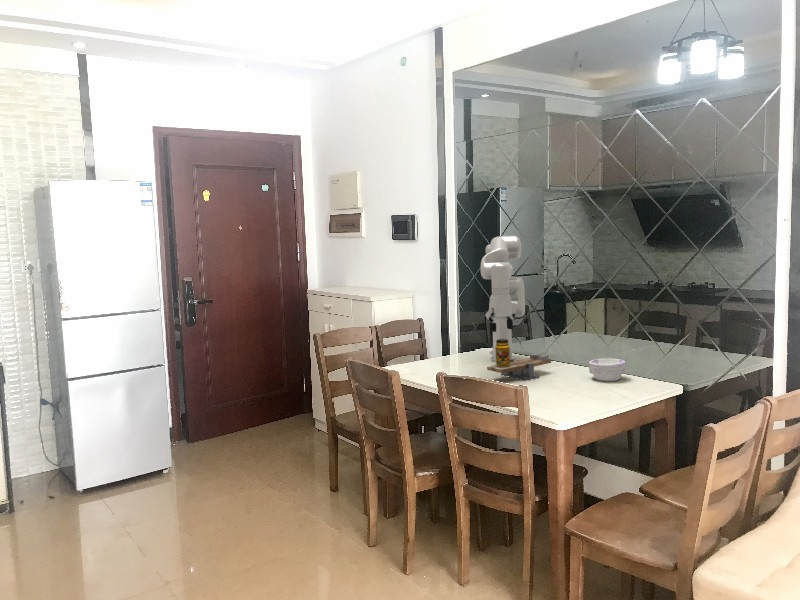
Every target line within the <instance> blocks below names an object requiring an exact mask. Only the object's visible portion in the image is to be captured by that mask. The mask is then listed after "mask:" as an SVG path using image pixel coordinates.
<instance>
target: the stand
mask: <svg viewBox="0 0 800 600" xmlns="http://www.w3.org/2000/svg"><path fill="white" fill-rule="evenodd" d="M512 361H513V359H510V362H512ZM500 375H501V376H502V375H504V377H506V376H509V377H508V378H511V377H513V378H512V379H515V378H518V379H517V380H520V379H522V380H521V381H524V380H528V381H532V380H531V379H533V380H536V378H537V379H540V375H537V374H535V366H534V363H527V364H526V368H525V369H520V370H516V371H511V372H507V373H500Z"/></svg>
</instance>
